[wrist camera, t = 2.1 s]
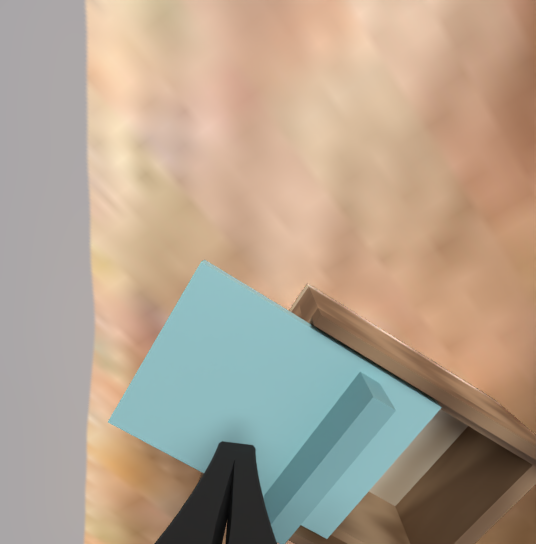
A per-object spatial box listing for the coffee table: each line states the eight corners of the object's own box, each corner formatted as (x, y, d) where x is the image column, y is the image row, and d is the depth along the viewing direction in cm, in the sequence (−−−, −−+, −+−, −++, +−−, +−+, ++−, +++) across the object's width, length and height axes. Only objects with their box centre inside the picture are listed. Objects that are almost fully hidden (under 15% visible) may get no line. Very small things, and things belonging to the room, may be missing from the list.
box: (494, 399, 21) (581, 474, 15) (392, 512, 23) (431, 615, 17) (307, 283, 19) (321, 314, 13) (217, 415, 22) (196, 491, 16)
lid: (435, 399, 15) (467, 437, 13) (325, 527, 17) (334, 583, 15) (204, 259, 14) (188, 270, 11) (114, 414, 16) (83, 453, 13)
